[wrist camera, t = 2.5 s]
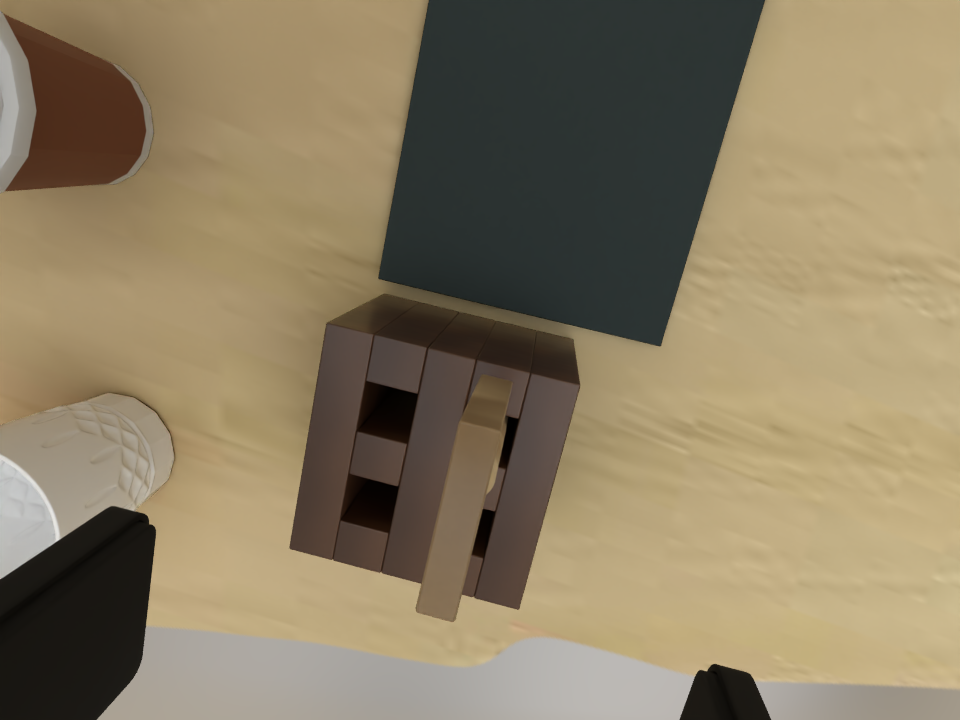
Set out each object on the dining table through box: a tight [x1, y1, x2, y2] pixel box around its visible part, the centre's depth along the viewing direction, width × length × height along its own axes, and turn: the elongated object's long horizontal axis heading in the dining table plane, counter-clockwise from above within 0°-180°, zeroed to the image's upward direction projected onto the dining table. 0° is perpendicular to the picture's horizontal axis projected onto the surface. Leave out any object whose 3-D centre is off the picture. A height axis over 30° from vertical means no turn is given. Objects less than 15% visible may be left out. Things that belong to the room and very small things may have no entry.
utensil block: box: [290, 294, 580, 610], centre depth 31 cm, size 10×10×9 cm
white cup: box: [0, 393, 174, 579], centre depth 34 cm, size 8×8×10 cm
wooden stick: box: [416, 374, 513, 622], centre depth 25 cm, size 1×5×20 cm, turn 168°
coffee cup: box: [0, 11, 154, 193], centre depth 28 cm, size 9×9×12 cm
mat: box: [378, 0, 765, 346], centre depth 31 cm, size 15×24×1 cm, turn 167°
